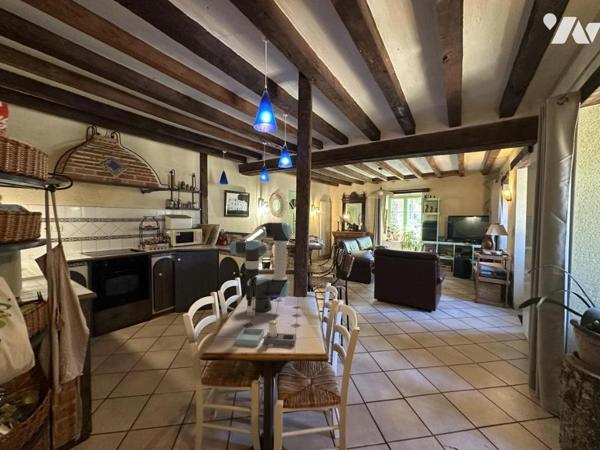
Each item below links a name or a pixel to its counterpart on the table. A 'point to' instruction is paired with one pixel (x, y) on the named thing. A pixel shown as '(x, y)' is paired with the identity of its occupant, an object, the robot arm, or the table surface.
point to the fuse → (273, 329)
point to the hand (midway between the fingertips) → (251, 309)
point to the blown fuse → (251, 314)
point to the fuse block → (281, 340)
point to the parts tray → (250, 337)
